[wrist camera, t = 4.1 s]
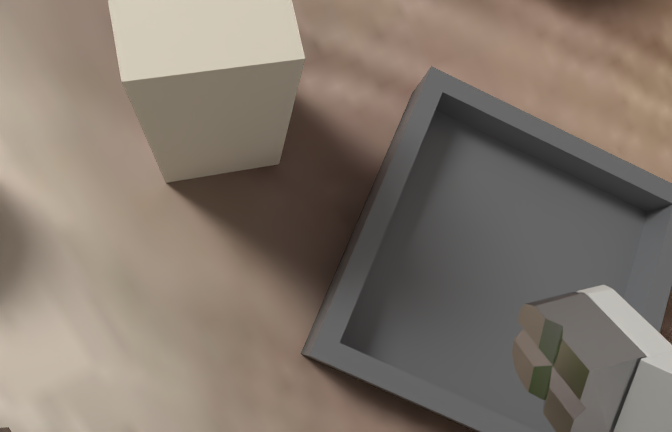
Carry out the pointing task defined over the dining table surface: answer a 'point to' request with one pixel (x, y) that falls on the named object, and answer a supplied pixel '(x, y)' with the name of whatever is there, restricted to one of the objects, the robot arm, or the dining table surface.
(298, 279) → the dining table surface
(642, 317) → the robot arm
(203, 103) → the cream block
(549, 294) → the tray
